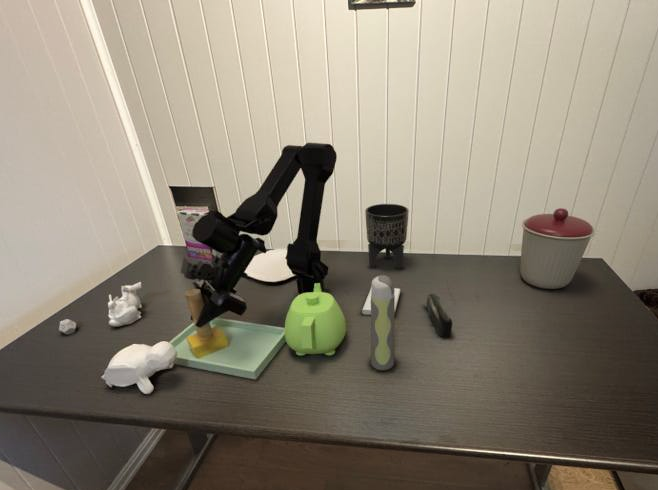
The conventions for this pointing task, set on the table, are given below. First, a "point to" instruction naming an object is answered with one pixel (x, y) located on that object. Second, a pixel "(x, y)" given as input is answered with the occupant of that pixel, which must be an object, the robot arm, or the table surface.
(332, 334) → the teapot
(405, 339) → the table surface
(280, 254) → the plate
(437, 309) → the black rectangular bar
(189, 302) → the sponge wand
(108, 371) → the white turtle figurine
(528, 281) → the canister
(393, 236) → the planter
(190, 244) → the candy bar box
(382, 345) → the grey green cylinder
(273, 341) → the tray
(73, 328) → the game die
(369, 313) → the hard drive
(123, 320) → the white figurine
